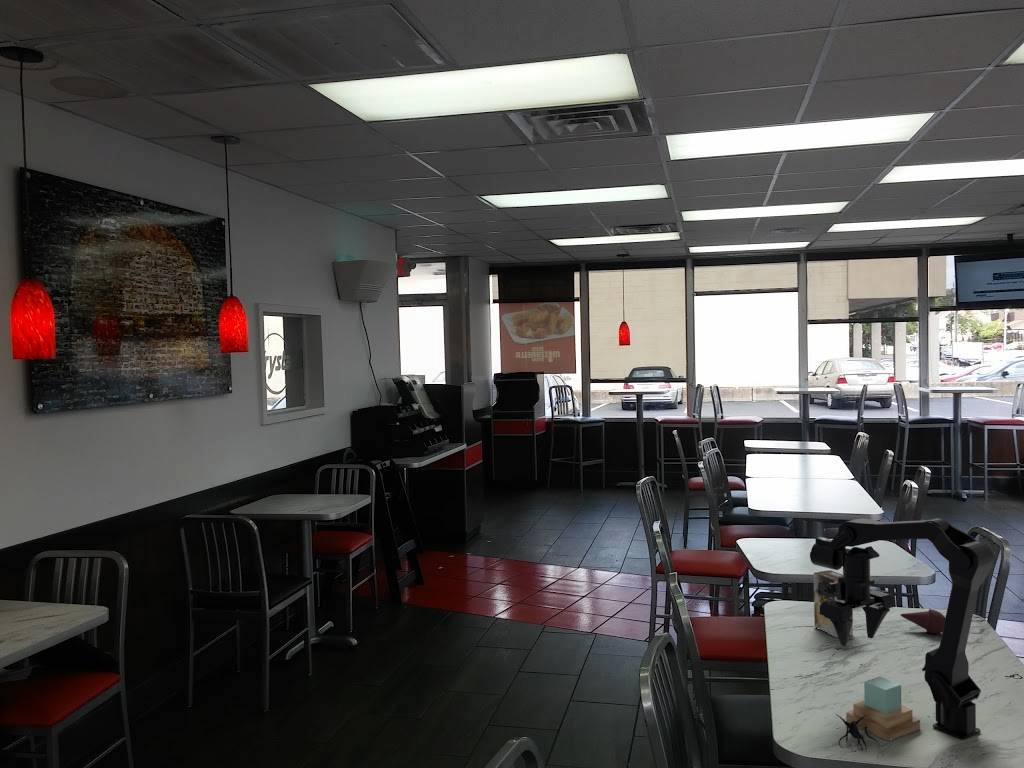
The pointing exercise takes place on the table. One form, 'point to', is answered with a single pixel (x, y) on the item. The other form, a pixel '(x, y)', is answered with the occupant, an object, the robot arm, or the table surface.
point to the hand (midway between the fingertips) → (857, 641)
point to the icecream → (927, 620)
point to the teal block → (882, 695)
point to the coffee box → (820, 619)
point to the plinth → (884, 730)
